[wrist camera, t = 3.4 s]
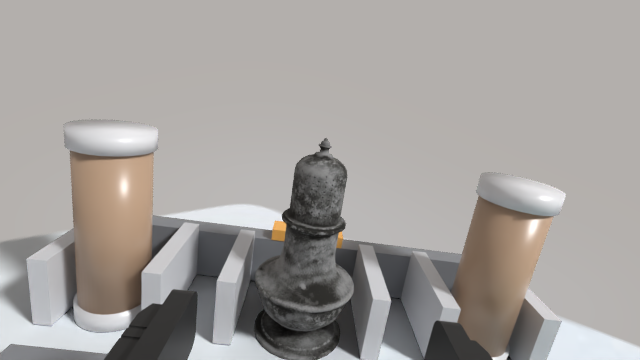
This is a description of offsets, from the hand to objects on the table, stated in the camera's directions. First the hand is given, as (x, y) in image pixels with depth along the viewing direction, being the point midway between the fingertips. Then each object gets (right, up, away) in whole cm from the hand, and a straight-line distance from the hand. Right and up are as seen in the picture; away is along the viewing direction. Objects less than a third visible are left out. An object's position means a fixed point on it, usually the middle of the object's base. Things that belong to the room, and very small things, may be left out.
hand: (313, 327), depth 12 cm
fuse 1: (-12, -3, +10) cm, 16 cm away
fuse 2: (+10, -6, +11) cm, 16 cm away
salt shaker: (-1, -4, +10) cm, 11 cm away
